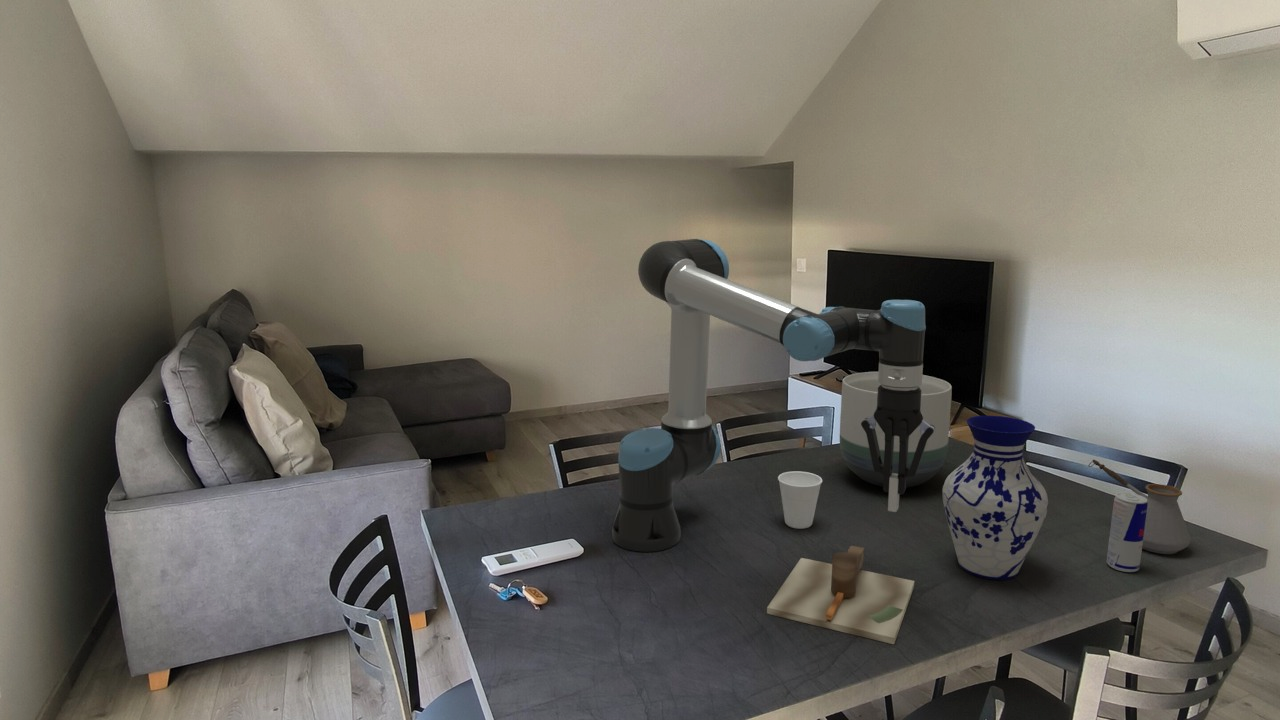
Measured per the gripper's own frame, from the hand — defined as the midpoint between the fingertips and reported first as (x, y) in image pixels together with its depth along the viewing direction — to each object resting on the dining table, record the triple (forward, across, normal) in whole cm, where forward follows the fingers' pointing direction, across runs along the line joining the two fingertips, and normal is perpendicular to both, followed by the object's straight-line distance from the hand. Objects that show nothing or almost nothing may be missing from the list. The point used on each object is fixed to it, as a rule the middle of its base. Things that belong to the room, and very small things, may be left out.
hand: (893, 508), depth 143 cm
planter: (+16, -10, +59) cm, 62 cm away
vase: (+16, +16, +18) cm, 29 cm away
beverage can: (+17, +40, +30) cm, 53 cm away
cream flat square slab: (+16, -7, -8) cm, 19 cm away
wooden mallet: (+14, -7, -8) cm, 18 cm away
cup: (+16, -24, +22) cm, 36 cm away
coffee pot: (+17, +43, +47) cm, 66 cm away
